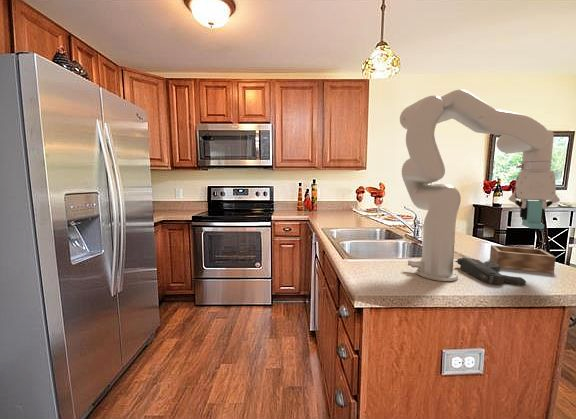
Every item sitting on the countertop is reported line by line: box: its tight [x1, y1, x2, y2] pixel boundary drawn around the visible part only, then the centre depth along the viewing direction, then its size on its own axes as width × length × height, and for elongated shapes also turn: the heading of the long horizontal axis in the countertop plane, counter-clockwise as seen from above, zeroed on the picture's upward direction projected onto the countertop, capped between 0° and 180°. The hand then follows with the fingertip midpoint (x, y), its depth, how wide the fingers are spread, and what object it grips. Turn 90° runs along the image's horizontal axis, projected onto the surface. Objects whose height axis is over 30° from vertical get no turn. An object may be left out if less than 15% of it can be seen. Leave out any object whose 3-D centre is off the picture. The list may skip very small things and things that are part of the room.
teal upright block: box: [521, 200, 545, 230], centre depth 94 cm, size 4×9×9 cm, turn 152°
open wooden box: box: [489, 244, 556, 274], centre depth 105 cm, size 16×12×6 cm
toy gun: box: [454, 257, 527, 287], centre depth 94 cm, size 5×19×15 cm
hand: (531, 219), depth 95 cm, fingers closed on teal upright block, 3 cm apart
